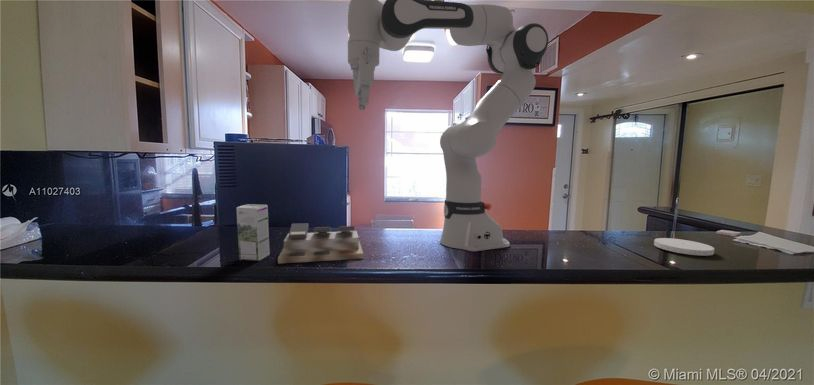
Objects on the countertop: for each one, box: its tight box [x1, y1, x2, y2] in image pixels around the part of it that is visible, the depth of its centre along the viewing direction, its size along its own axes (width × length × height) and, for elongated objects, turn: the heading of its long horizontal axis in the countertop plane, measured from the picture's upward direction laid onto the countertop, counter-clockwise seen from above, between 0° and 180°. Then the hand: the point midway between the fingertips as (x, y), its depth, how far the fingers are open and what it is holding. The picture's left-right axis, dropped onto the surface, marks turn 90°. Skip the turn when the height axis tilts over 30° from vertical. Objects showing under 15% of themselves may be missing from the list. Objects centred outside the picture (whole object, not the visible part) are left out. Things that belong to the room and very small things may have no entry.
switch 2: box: [337, 225, 355, 232], centre depth 90 cm, size 5×7×1 cm, turn 13°
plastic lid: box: [653, 237, 715, 257], centre depth 96 cm, size 14×14×2 cm
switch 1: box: [288, 222, 309, 239], centre depth 87 cm, size 5×7×1 cm, turn 13°
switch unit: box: [277, 230, 364, 264], centre depth 87 cm, size 22×12×6 cm, turn 103°
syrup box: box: [236, 203, 271, 262], centre depth 83 cm, size 6×6×14 cm
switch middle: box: [312, 226, 332, 233], centre depth 88 cm, size 5×7×1 cm, turn 13°
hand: (363, 107), depth 88 cm, fingers open, 8 cm apart
